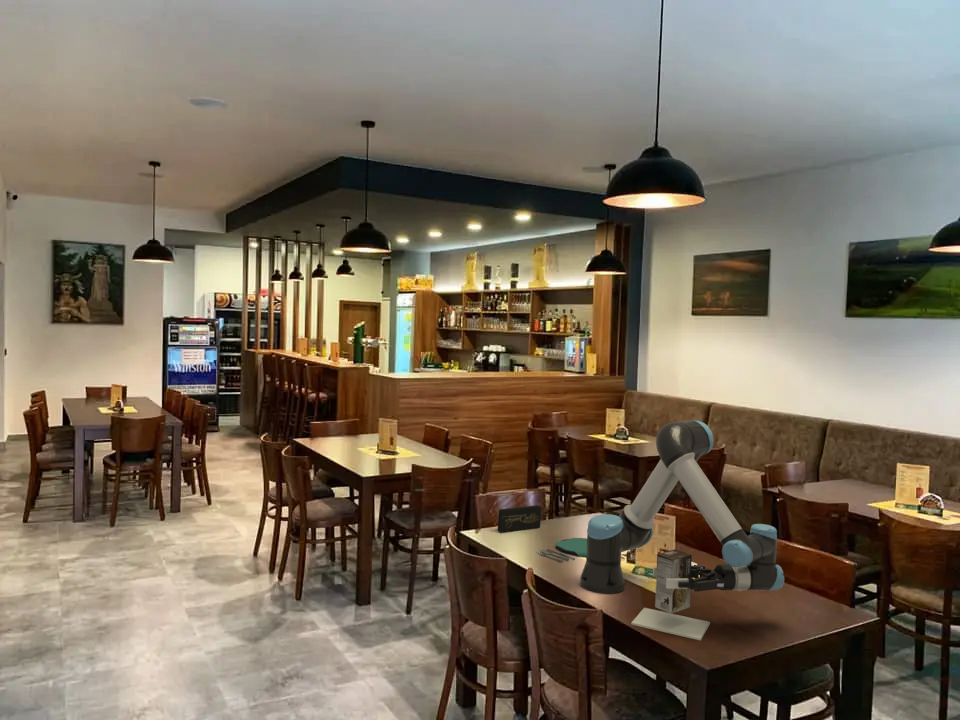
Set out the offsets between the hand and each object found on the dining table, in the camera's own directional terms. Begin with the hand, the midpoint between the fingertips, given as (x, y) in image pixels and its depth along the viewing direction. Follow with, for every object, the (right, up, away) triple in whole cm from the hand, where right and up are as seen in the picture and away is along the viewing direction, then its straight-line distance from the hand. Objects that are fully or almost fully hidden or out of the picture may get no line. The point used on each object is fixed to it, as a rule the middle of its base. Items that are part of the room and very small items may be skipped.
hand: (659, 577), depth 214 cm
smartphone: (+23, -13, +65) cm, 70 cm away
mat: (+4, -14, +1) cm, 15 cm away
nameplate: (-36, -9, +98) cm, 105 cm away
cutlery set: (-17, -12, +71) cm, 73 cm away
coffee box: (+4, -9, +1) cm, 10 cm away
